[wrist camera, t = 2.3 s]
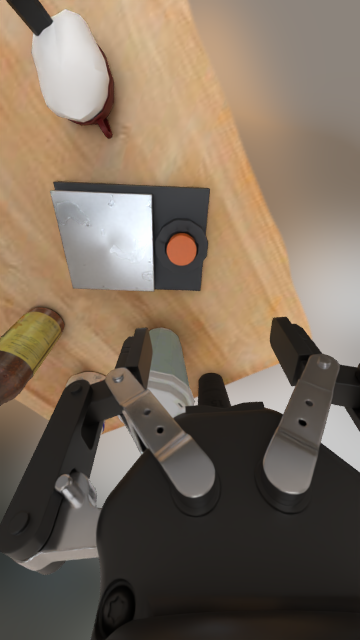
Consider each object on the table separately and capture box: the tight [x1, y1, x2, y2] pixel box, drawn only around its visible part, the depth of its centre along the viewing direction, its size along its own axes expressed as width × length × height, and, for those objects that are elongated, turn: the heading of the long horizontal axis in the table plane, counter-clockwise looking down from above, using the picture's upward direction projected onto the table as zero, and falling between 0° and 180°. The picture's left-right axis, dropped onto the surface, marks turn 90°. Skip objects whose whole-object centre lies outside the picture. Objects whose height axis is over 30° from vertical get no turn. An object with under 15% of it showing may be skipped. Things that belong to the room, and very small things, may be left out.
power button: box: [167, 233, 196, 266], centre depth 28 cm, size 4×4×2 cm
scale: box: [53, 182, 210, 291], centre depth 30 cm, size 18×13×3 cm
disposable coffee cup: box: [117, 327, 195, 422], centre depth 34 cm, size 11×11×15 cm
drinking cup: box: [198, 373, 231, 408], centre depth 37 cm, size 8×8×20 cm
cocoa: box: [6, 0, 114, 139], centre depth 18 cm, size 10×6×12 cm, turn 6°
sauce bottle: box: [0, 307, 64, 406], centre depth 30 cm, size 6×6×20 cm
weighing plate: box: [50, 190, 155, 291], centre depth 28 cm, size 11×12×1 cm
